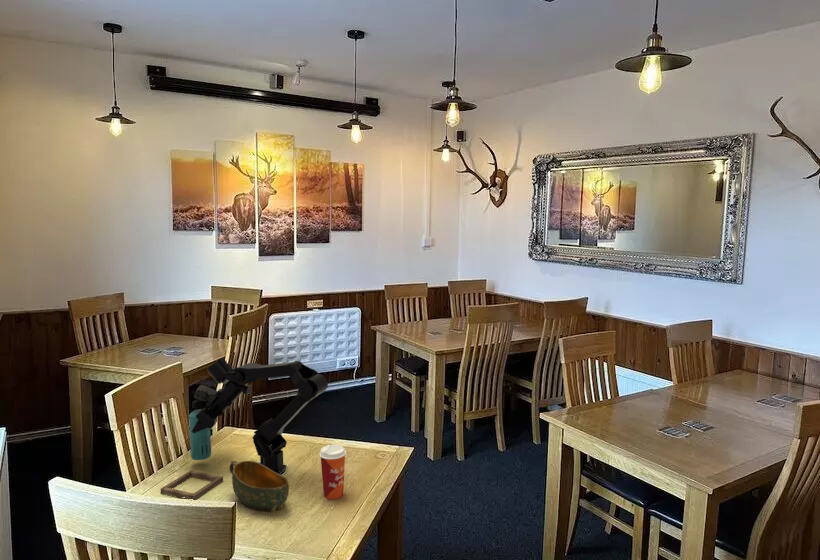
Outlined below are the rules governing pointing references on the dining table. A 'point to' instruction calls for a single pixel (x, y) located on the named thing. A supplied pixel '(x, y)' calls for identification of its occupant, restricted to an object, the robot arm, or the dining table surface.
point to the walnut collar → (168, 488)
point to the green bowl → (258, 486)
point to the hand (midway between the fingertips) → (195, 428)
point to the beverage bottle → (199, 435)
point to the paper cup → (333, 470)
